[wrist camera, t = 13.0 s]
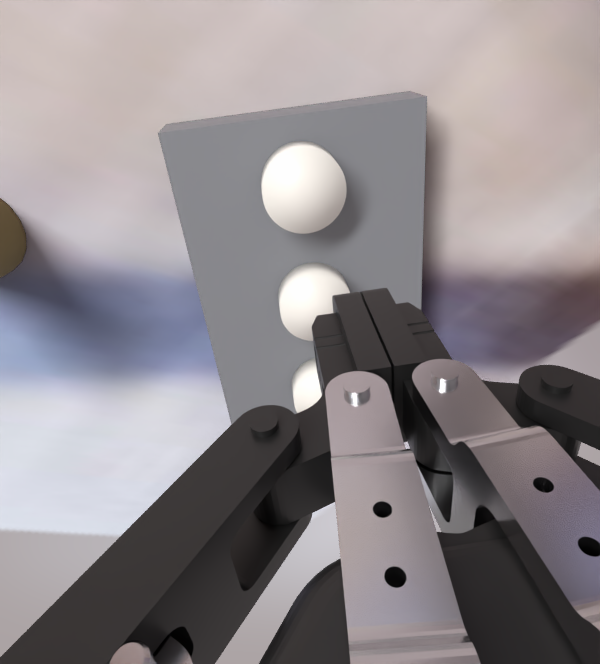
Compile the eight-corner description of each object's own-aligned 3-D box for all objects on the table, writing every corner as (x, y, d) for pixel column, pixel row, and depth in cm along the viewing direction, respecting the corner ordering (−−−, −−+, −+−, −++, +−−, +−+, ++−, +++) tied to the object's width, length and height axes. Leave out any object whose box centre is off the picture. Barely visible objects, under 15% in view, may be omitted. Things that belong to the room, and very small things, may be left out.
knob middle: (271, 250, 31) (275, 282, 27) (337, 240, 31) (351, 271, 27) (280, 308, 34) (285, 345, 29) (341, 299, 34) (355, 335, 30)
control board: (166, 124, 27) (157, 133, 24) (409, 91, 27) (426, 96, 25) (234, 406, 38) (233, 432, 35) (406, 380, 38) (418, 404, 36)
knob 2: (285, 338, 35) (290, 379, 31) (344, 330, 35) (357, 369, 31) (292, 385, 37) (298, 429, 33) (347, 377, 37) (360, 419, 33)
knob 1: (254, 137, 28) (255, 154, 23) (329, 127, 28) (343, 142, 24) (265, 211, 30) (268, 239, 26) (334, 201, 30) (348, 227, 26)
